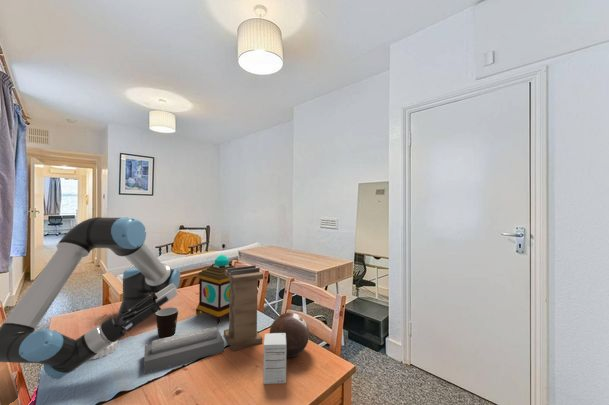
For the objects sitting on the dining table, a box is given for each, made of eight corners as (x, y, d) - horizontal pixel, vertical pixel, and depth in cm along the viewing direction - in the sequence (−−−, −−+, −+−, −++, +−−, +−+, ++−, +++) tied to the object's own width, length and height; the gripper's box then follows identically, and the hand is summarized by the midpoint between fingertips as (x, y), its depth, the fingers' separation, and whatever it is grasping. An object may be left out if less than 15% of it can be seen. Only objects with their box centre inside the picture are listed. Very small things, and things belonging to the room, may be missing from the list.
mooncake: (120, 351, 98) (121, 342, 98) (79, 365, 90) (79, 355, 90) (114, 339, 107) (114, 330, 107) (75, 351, 98) (76, 341, 98)
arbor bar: (151, 349, 93) (152, 340, 93) (215, 334, 104) (215, 326, 104) (152, 353, 90) (152, 344, 90) (217, 337, 102) (217, 329, 102)
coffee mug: (168, 341, 106) (168, 316, 106) (150, 338, 108) (150, 314, 107) (186, 327, 117) (187, 305, 117) (170, 325, 119) (170, 303, 119)
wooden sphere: (312, 364, 92) (312, 322, 92) (269, 368, 90) (270, 324, 90) (305, 341, 107) (305, 305, 107) (268, 344, 105) (269, 307, 105)
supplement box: (264, 369, 89) (264, 332, 89) (285, 368, 90) (286, 332, 90) (262, 384, 82) (263, 344, 82) (286, 383, 82) (286, 344, 82)
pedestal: (223, 334, 111) (224, 266, 111) (250, 328, 118) (251, 263, 118) (232, 351, 99) (234, 274, 99) (262, 342, 106) (263, 270, 106)
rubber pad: (144, 356, 95) (144, 345, 95) (217, 338, 109) (217, 328, 109) (144, 373, 86) (144, 361, 86) (223, 351, 99) (224, 340, 99)
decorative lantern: (249, 311, 135) (250, 254, 135) (218, 326, 119) (219, 261, 119) (223, 302, 146) (224, 249, 146) (191, 315, 129) (192, 255, 129)
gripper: (116, 329, 94) (178, 288, 104) (110, 356, 78) (183, 305, 88) (104, 313, 92) (168, 273, 102) (94, 338, 76) (171, 288, 86)
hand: (175, 288), depth 95 cm, fingers open, 6 cm apart
